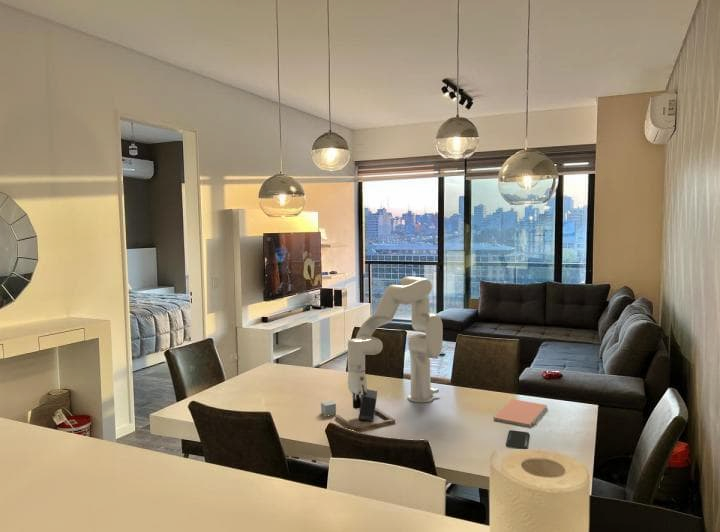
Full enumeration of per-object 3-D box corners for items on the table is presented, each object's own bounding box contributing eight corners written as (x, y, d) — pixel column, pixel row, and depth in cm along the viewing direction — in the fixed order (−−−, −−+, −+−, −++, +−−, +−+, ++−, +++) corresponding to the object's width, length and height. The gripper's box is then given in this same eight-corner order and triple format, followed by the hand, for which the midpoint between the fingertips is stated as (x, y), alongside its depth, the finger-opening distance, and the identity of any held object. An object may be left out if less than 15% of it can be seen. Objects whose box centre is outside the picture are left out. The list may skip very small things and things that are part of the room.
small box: (373, 421, 223) (376, 398, 222) (358, 419, 223) (361, 396, 222) (374, 413, 233) (377, 390, 232) (360, 410, 234) (363, 388, 233)
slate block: (331, 411, 236) (331, 400, 236) (336, 414, 232) (335, 403, 232) (321, 413, 234) (321, 402, 234) (325, 416, 230) (325, 405, 229)
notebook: (532, 429, 213) (532, 424, 213) (492, 421, 222) (492, 416, 222) (549, 409, 236) (549, 404, 236) (512, 402, 245) (512, 398, 245)
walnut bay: (375, 410, 236) (375, 407, 236) (395, 423, 221) (395, 419, 220) (335, 418, 227) (335, 415, 227) (353, 432, 211) (353, 428, 211)
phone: (529, 432, 207) (527, 447, 193) (529, 435, 207) (527, 450, 193) (508, 429, 210) (505, 444, 196) (508, 432, 210) (505, 447, 196)
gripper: (372, 369, 223) (372, 411, 224) (356, 362, 236) (356, 401, 238) (356, 372, 220) (357, 414, 221) (341, 364, 233) (342, 404, 234)
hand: (356, 407), depth 229 cm, fingers closed
